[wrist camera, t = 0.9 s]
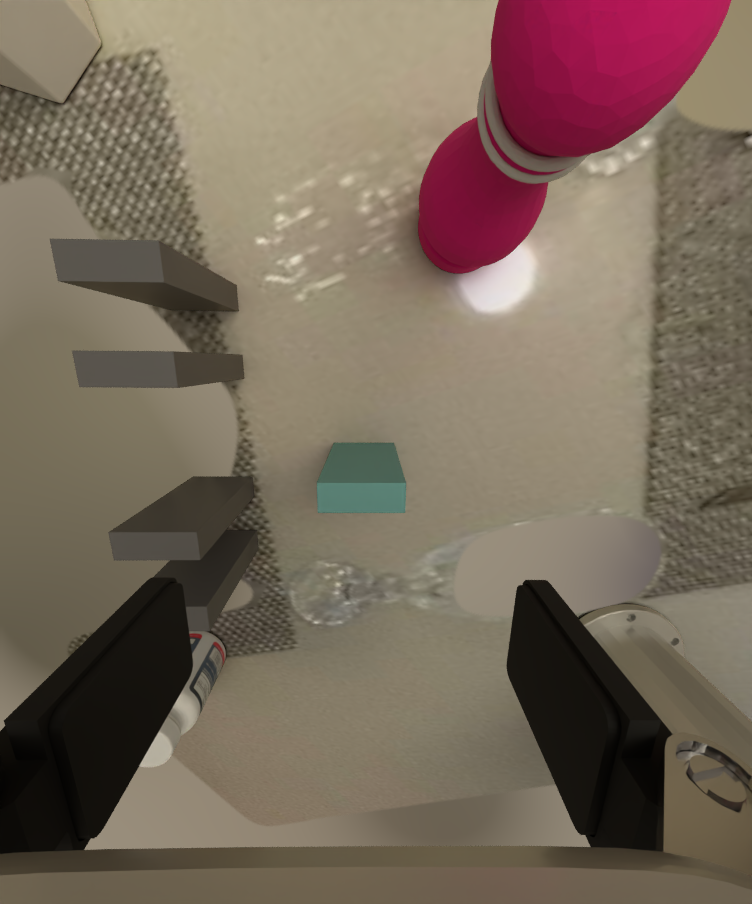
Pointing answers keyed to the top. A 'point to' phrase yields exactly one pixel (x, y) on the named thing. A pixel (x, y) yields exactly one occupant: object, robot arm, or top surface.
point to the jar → (45, 45)
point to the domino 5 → (362, 480)
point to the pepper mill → (553, 112)
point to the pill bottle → (188, 697)
